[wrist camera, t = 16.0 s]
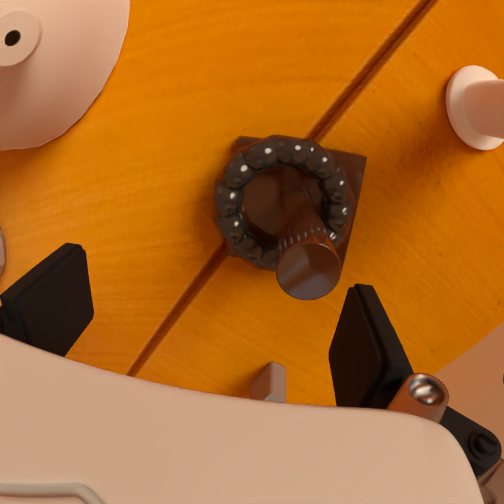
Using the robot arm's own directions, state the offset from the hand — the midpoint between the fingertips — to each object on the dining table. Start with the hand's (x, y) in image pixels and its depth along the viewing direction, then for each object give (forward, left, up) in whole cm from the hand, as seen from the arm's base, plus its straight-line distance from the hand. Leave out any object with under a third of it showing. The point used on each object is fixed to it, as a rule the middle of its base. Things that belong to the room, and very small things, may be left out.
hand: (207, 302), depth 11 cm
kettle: (+20, -13, -14) cm, 28 cm away
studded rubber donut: (-3, 0, -12) cm, 13 cm away
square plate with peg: (-4, 0, -14) cm, 15 cm away
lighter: (-4, +19, -14) cm, 24 cm away
